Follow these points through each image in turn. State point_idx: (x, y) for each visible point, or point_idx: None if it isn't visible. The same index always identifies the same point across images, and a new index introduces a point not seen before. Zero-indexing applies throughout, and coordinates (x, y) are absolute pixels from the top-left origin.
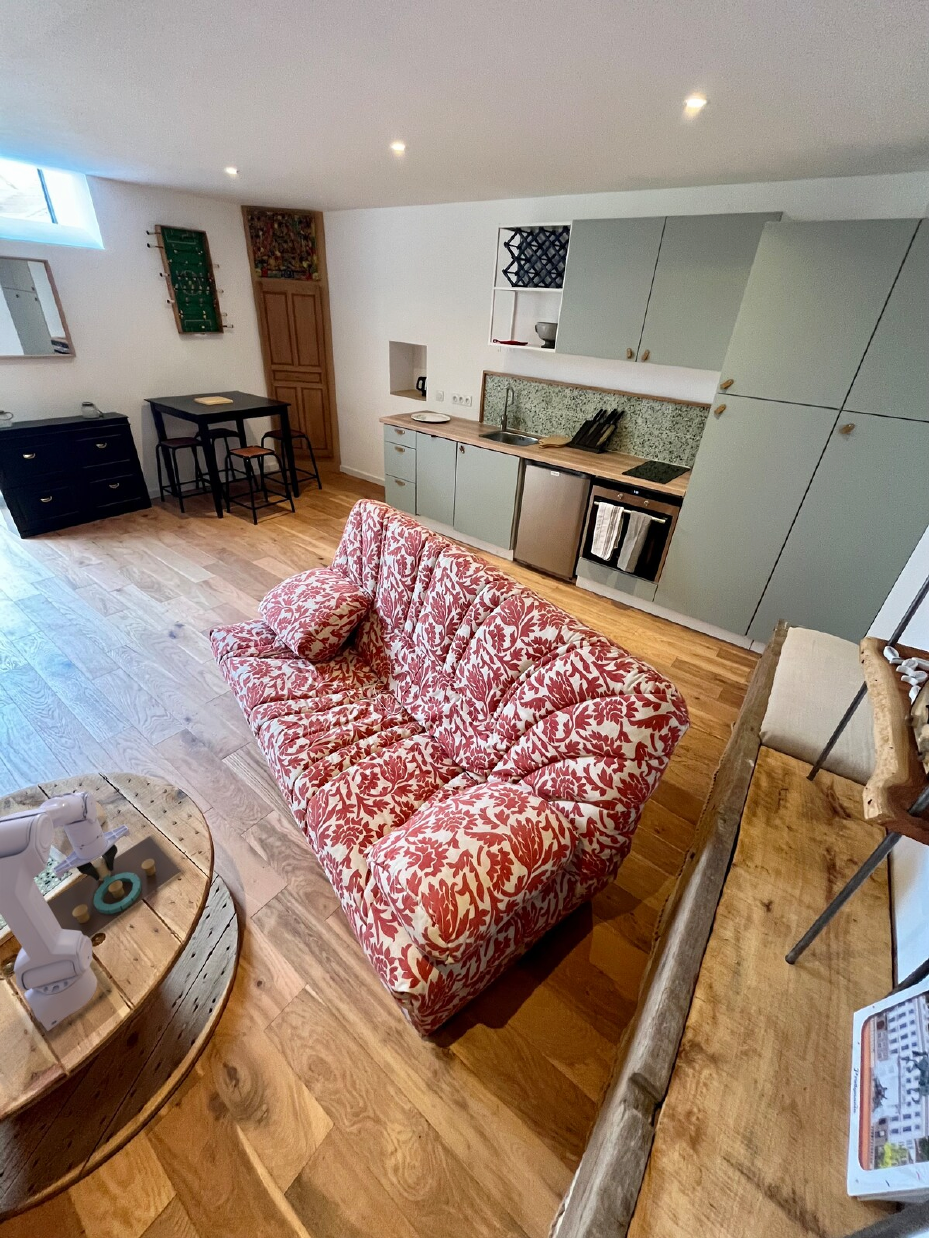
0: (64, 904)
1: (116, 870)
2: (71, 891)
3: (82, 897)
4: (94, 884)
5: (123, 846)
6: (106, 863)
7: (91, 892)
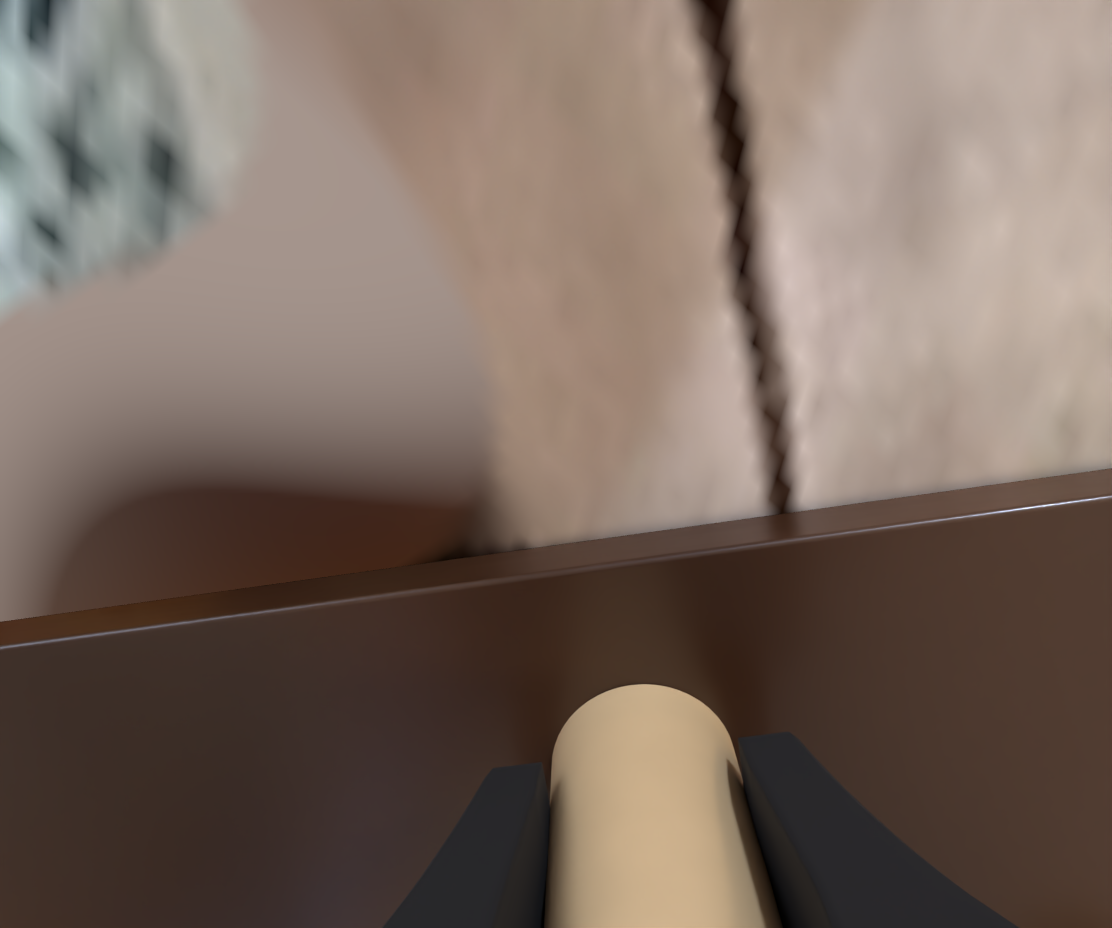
0: (51, 868)
1: None
2: (159, 720)
3: (285, 919)
4: None
5: (1092, 257)
6: (783, 919)
7: None
